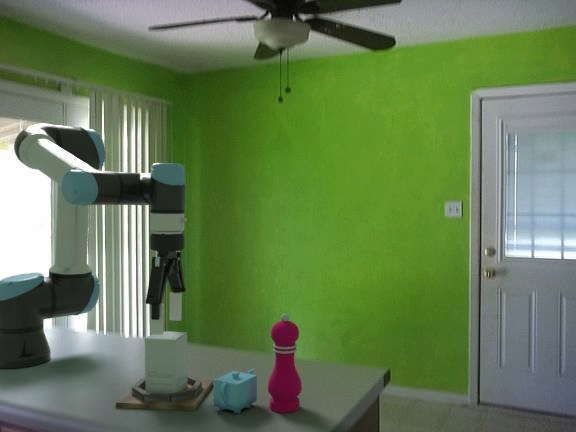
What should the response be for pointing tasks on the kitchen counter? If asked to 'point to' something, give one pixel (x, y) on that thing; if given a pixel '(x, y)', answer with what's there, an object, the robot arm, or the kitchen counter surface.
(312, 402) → the kitchen counter surface
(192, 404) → the collar plate
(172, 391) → the supplement box
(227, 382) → the teapot
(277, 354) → the pepper mill
